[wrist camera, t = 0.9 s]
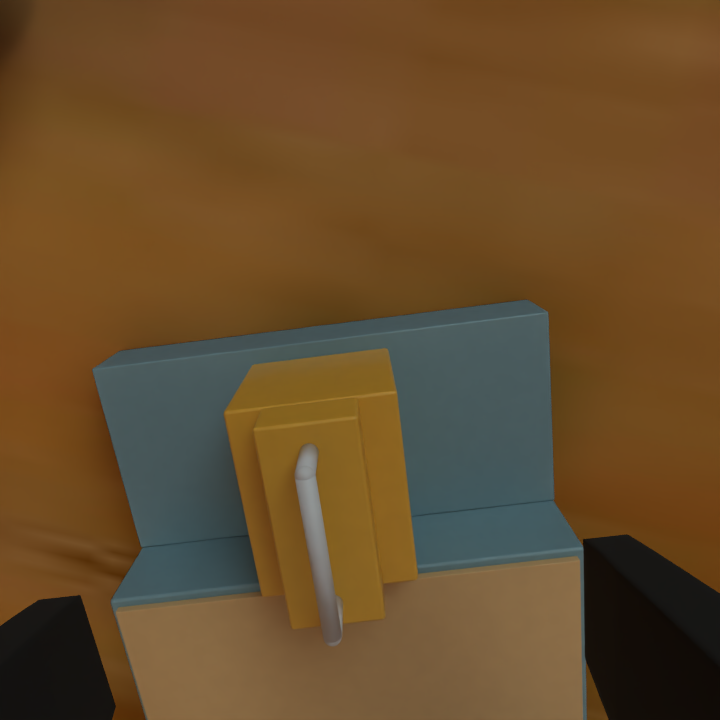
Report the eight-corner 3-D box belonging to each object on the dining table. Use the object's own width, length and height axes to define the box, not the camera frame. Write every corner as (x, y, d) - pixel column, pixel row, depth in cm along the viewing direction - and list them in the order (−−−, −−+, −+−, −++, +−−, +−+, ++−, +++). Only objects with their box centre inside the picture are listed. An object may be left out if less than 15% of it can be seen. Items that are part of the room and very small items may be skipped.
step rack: (547, 766, 21) (622, 991, 15) (234, 798, 22) (188, 1029, 16) (528, 299, 16) (628, 360, 10) (118, 350, 16) (-16, 439, 10)
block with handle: (405, 502, 16) (431, 658, 11) (280, 516, 16) (242, 678, 11) (388, 346, 15) (406, 435, 9) (251, 364, 15) (192, 460, 9)
